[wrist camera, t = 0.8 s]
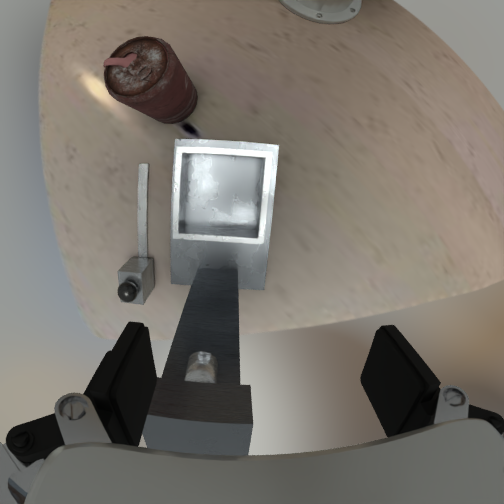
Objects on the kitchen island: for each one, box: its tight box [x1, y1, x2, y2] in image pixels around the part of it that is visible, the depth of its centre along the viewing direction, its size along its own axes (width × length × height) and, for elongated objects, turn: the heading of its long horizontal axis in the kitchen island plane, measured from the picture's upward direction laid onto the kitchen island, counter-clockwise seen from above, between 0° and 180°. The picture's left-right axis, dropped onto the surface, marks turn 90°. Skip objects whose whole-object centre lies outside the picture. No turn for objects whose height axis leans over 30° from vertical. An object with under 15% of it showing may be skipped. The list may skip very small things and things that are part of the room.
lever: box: [118, 257, 154, 305], centre depth 32 cm, size 4×3×7 cm
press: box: [138, 139, 279, 456], centre depth 22 cm, size 19×17×25 cm
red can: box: [104, 36, 197, 124], centre depth 23 cm, size 6×6×14 cm
